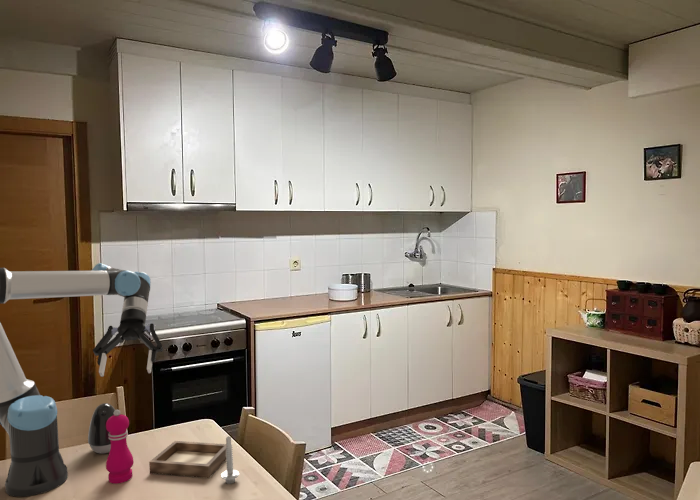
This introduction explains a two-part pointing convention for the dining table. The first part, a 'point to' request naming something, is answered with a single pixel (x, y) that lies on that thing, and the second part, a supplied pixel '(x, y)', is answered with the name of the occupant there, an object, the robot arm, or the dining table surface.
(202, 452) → the walnut tray
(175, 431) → the dining table surface
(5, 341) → the robot arm
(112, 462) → the pepper mill
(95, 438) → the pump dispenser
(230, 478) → the screw
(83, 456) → the dining table surface
